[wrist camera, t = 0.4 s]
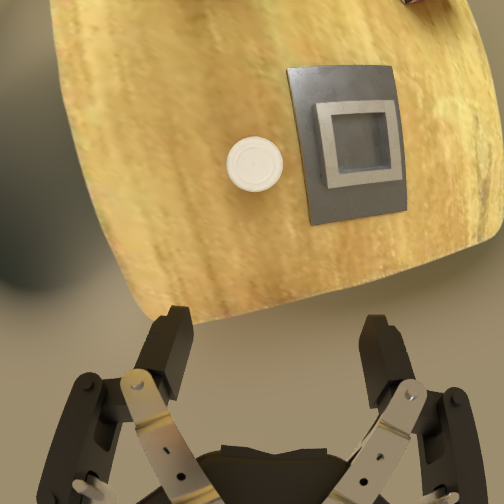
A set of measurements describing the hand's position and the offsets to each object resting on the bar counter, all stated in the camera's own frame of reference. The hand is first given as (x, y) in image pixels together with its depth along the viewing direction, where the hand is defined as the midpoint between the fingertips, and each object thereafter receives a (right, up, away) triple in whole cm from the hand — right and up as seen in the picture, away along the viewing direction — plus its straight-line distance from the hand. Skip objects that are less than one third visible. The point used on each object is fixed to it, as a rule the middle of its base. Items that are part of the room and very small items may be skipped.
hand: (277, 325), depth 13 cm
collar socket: (+12, +17, +21) cm, 30 cm away
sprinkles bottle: (-1, +15, +22) cm, 27 cm away
